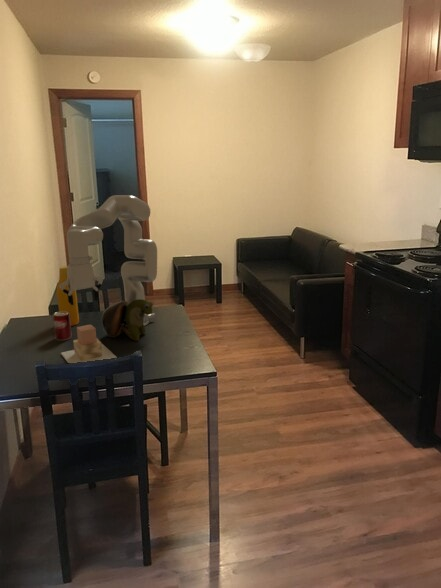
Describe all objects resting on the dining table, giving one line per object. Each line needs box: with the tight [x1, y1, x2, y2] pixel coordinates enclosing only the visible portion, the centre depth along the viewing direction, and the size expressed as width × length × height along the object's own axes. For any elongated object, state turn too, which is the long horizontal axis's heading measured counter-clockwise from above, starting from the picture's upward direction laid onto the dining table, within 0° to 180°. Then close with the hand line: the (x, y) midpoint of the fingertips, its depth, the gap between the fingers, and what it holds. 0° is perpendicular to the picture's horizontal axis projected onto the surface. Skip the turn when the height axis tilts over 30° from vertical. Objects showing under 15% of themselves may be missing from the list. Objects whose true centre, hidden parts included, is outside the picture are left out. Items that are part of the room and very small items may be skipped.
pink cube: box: [76, 324, 98, 345], centre depth 197 cm, size 6×6×6 cm
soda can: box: [52, 311, 73, 342], centre depth 219 cm, size 7×7×12 cm
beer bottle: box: [56, 266, 80, 327], centre depth 236 cm, size 9×9×29 cm
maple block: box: [72, 337, 102, 361], centre depth 198 cm, size 9×9×6 cm
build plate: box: [60, 343, 118, 364], centre depth 199 cm, size 18×18×1 cm
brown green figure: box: [101, 299, 154, 342], centre depth 219 cm, size 19×16×25 cm
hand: (83, 302), depth 193 cm, fingers open, 9 cm apart
